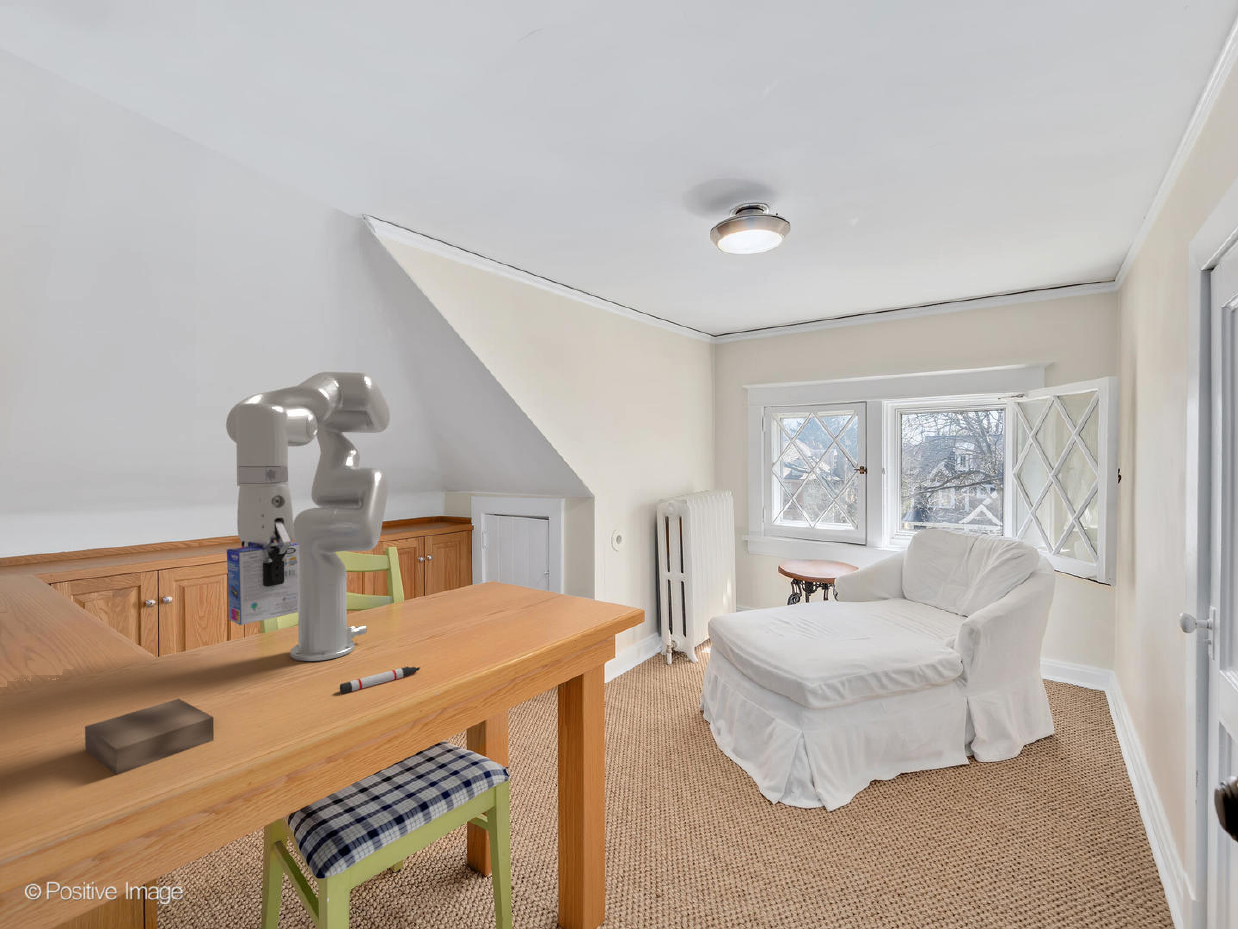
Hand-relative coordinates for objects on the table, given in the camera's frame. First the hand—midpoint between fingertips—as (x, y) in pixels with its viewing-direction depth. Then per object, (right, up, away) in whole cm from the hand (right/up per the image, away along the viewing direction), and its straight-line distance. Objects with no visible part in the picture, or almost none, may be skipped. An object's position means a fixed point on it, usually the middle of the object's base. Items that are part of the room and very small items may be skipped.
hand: (264, 581), depth 104 cm
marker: (+15, -22, +13) cm, 30 cm away
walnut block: (-10, -23, -13) cm, 28 cm away
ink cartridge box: (0, -6, 0) cm, 6 cm away
